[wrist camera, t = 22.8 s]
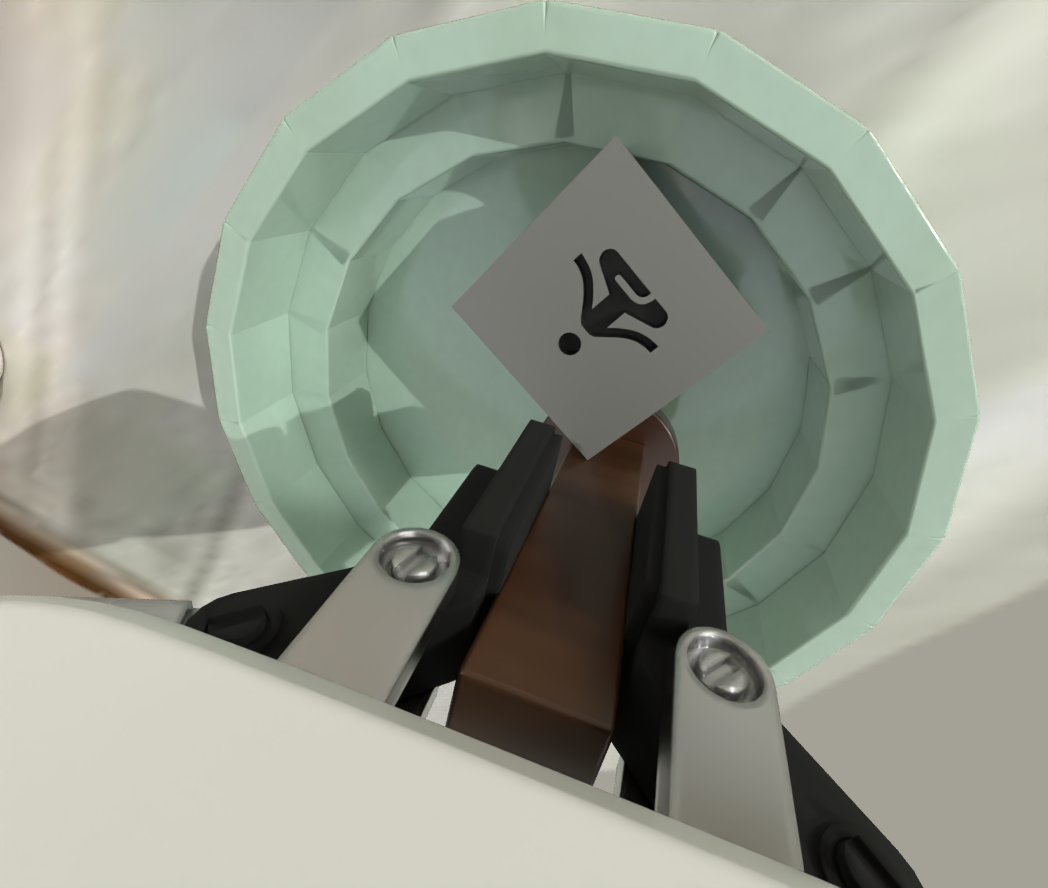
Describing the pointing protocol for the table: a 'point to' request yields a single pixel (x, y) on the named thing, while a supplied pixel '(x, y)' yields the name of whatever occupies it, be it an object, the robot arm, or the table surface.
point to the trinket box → (1, 363)
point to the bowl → (505, 213)
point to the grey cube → (608, 304)
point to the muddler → (564, 612)
